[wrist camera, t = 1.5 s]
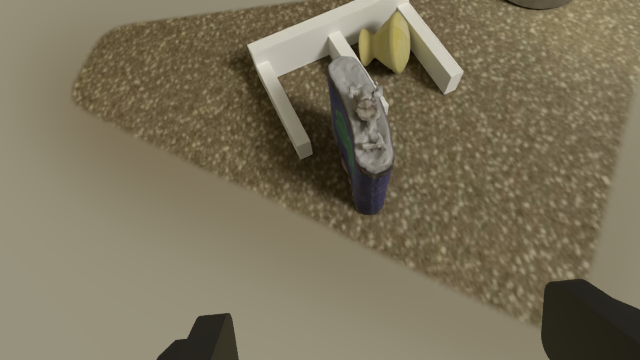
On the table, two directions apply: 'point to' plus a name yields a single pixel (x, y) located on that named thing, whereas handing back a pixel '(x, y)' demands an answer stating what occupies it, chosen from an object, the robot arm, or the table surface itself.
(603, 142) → the table surface
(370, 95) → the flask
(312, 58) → the rack
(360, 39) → the knob
